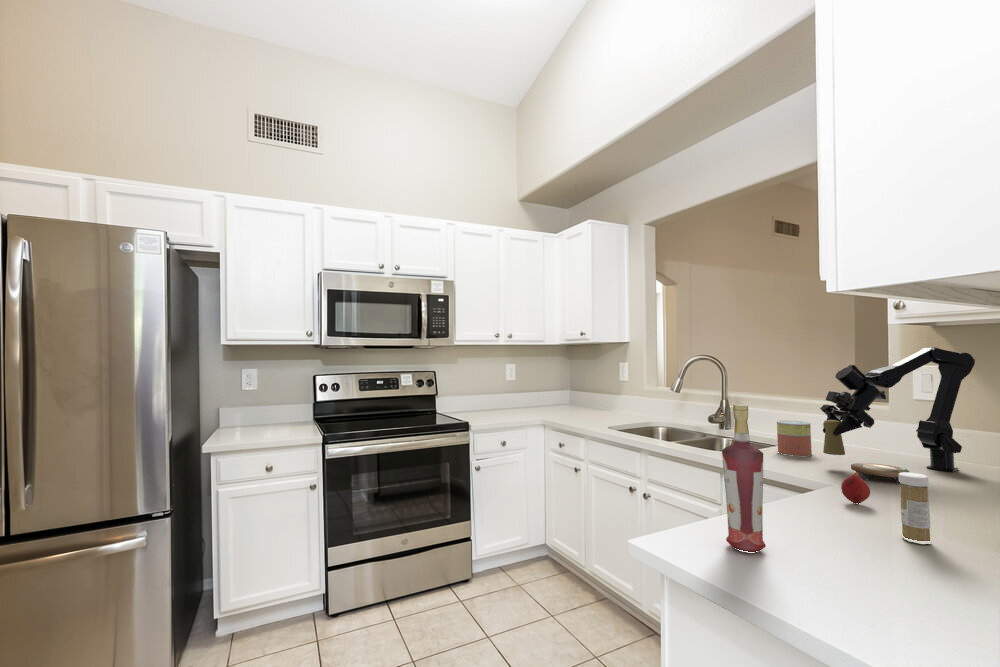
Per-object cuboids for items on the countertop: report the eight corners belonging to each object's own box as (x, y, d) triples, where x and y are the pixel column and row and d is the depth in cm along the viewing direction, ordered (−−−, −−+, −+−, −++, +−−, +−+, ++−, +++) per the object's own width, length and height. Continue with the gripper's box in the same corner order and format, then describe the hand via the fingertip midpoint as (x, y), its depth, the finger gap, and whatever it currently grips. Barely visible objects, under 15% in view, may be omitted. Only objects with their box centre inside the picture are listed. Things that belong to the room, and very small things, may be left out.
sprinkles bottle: (902, 535, 98) (899, 470, 98) (932, 541, 95) (928, 473, 95) (901, 542, 94) (897, 474, 95) (932, 548, 91) (928, 478, 92)
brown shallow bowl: (862, 470, 153) (861, 458, 154) (917, 479, 141) (917, 466, 142) (843, 476, 146) (842, 464, 146) (900, 486, 134) (899, 473, 134)
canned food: (817, 456, 175) (816, 424, 175) (785, 456, 176) (784, 424, 177) (803, 451, 186) (802, 420, 186) (772, 450, 188) (771, 420, 188)
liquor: (770, 559, 87) (764, 407, 88) (726, 553, 89) (721, 406, 91) (764, 544, 94) (758, 404, 95) (723, 539, 96) (719, 403, 98)
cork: (845, 455, 152) (843, 421, 152) (822, 453, 155) (820, 420, 156) (845, 452, 157) (843, 419, 157) (823, 450, 160) (821, 418, 161)
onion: (858, 509, 115) (857, 476, 115) (836, 502, 120) (834, 470, 121) (876, 506, 116) (874, 474, 117) (853, 500, 122) (851, 469, 122)
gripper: (824, 381, 166) (794, 413, 166) (862, 384, 148) (828, 420, 148) (848, 403, 165) (818, 435, 165) (889, 409, 147) (855, 445, 147)
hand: (828, 433), depth 156 cm, fingers closed on cork, 5 cm apart
